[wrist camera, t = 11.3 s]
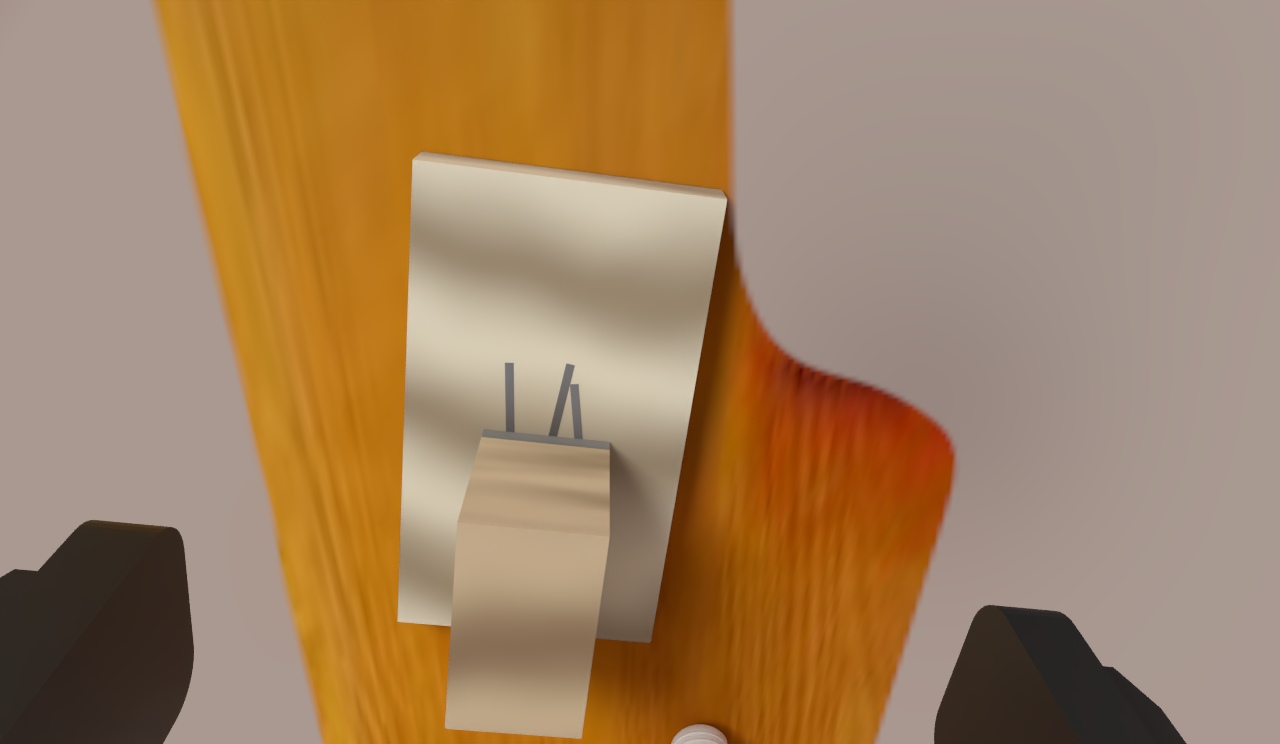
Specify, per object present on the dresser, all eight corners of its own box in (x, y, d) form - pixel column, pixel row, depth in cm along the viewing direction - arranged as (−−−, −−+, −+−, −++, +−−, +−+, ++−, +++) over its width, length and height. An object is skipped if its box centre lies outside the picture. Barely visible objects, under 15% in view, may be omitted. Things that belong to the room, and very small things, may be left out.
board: (421, 151, 29) (412, 159, 28) (721, 189, 30) (727, 199, 29) (405, 597, 36) (397, 621, 35) (649, 618, 37) (650, 643, 36)
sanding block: (483, 429, 32) (457, 522, 26) (609, 441, 32) (609, 536, 26) (470, 611, 35) (445, 728, 29) (585, 620, 35) (581, 738, 30)
